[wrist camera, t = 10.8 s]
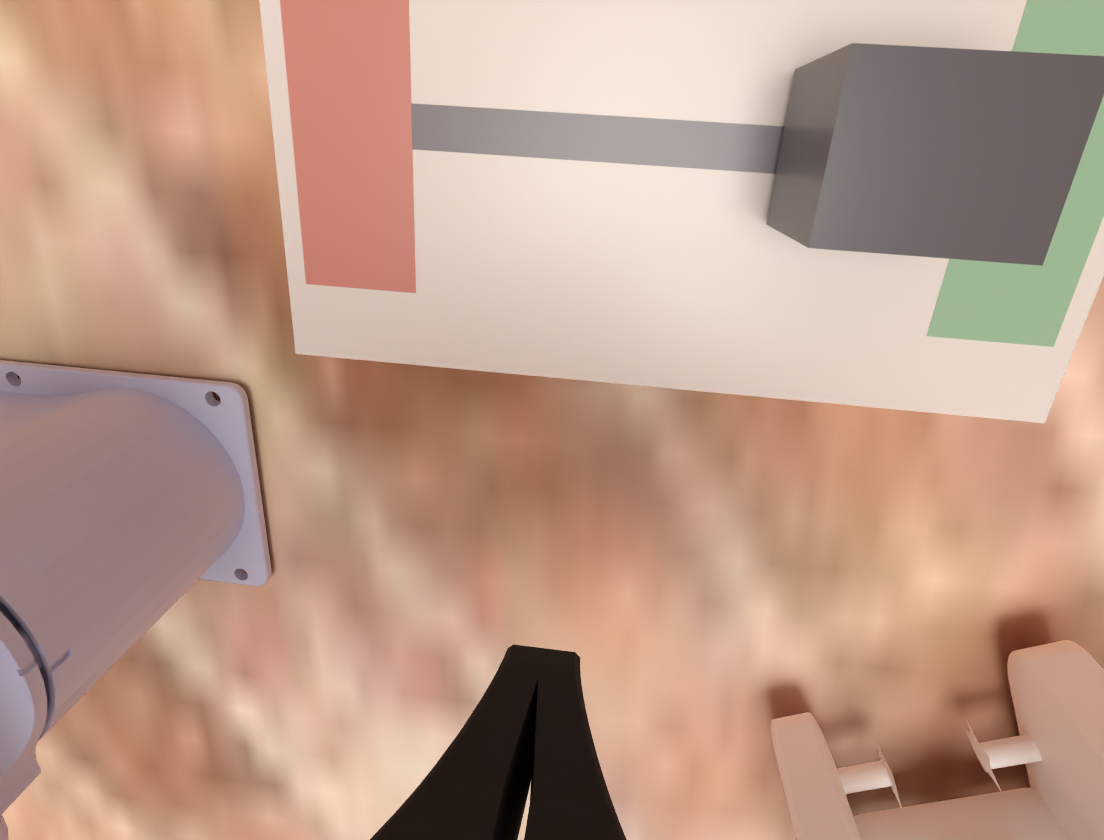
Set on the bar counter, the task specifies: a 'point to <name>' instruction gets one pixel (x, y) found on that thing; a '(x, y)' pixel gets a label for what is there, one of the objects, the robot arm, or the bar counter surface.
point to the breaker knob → (934, 150)
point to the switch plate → (642, 201)
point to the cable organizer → (989, 819)
